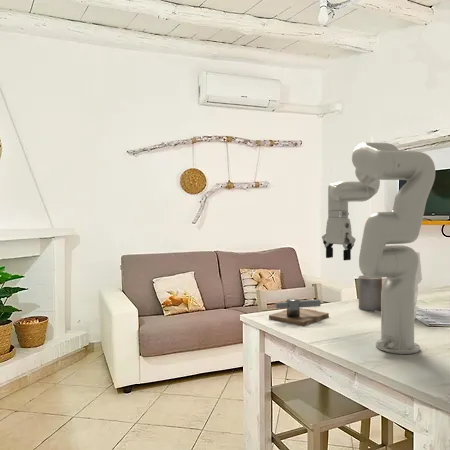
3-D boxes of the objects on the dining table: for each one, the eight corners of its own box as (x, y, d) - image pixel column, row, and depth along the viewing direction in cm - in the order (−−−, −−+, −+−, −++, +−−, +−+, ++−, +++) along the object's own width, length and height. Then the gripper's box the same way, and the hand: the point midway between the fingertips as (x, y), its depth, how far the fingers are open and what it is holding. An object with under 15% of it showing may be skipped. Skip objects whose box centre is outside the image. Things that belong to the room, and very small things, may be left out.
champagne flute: (401, 307, 191) (401, 252, 190) (413, 306, 193) (413, 251, 192) (412, 311, 184) (412, 253, 184) (425, 309, 187) (425, 252, 186)
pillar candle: (374, 305, 196) (373, 271, 196) (387, 310, 187) (386, 274, 186) (354, 307, 194) (353, 273, 193) (366, 312, 184) (365, 276, 184)
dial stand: (303, 325, 164) (303, 321, 164) (269, 318, 175) (268, 314, 175) (329, 316, 177) (329, 312, 177) (295, 310, 188) (295, 307, 188)
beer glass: (419, 320, 170) (419, 281, 170) (400, 319, 172) (400, 280, 171) (415, 315, 177) (415, 278, 176) (397, 315, 178) (397, 277, 178)
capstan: (278, 317, 169) (277, 302, 169) (273, 314, 174) (273, 299, 174) (322, 314, 173) (322, 299, 172) (317, 312, 178) (317, 297, 177)
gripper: (361, 215, 167) (361, 260, 168) (330, 214, 182) (330, 256, 183) (346, 215, 163) (346, 261, 164) (315, 214, 179) (315, 257, 179)
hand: (338, 258), depth 173 cm, fingers open, 9 cm apart
